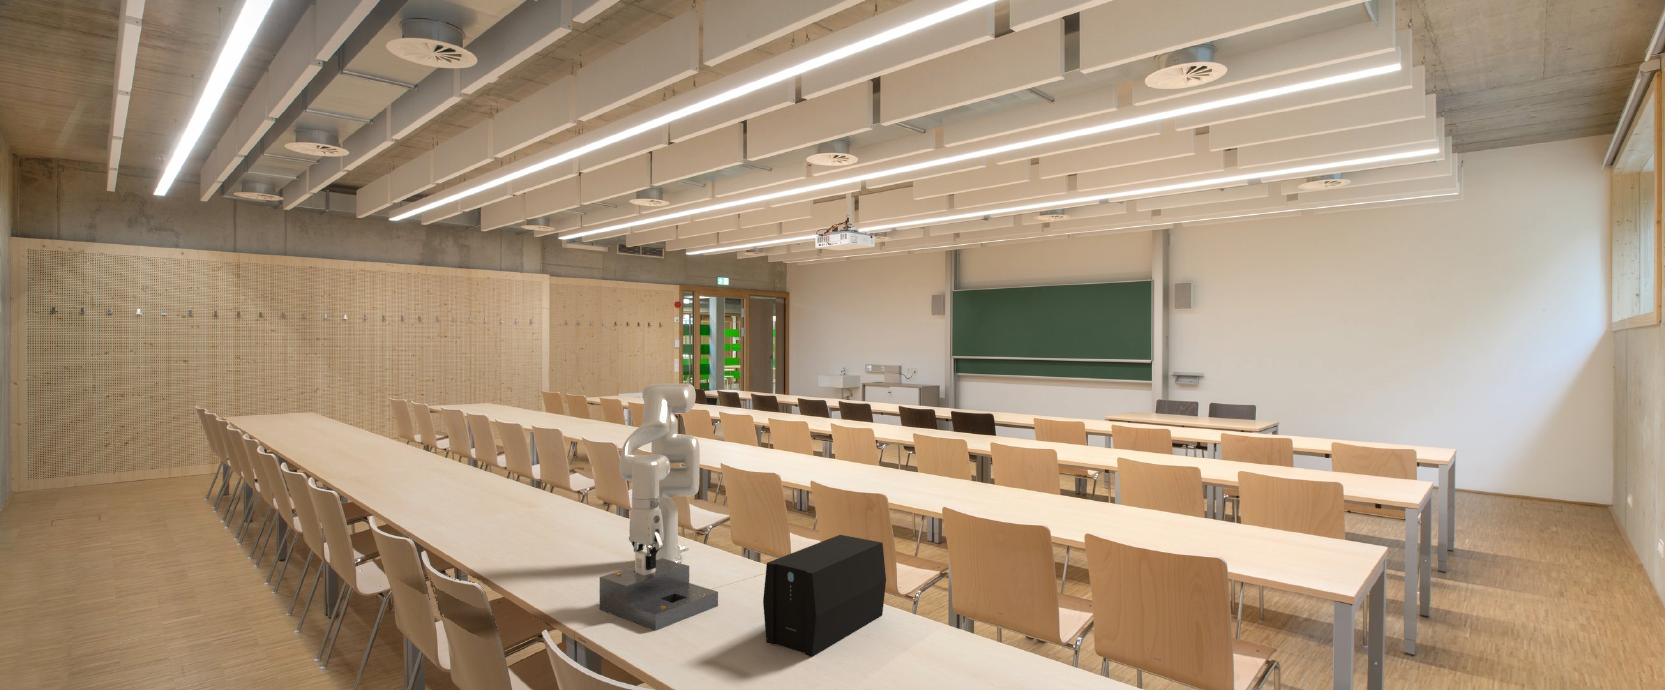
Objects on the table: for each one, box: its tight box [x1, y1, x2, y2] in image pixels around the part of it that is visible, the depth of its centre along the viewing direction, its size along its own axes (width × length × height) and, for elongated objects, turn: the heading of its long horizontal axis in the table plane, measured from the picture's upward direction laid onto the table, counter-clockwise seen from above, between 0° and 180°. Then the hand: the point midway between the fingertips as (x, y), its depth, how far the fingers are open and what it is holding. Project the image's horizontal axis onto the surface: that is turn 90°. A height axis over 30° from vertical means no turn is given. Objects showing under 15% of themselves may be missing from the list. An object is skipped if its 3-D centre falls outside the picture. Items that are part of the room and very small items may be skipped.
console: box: [599, 558, 719, 631], centre depth 204 cm, size 22×24×9 cm
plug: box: [634, 548, 656, 575], centre depth 208 cm, size 4×4×8 cm
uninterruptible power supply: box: [762, 534, 887, 658], centre depth 191 cm, size 16×34×20 cm, turn 145°
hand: (645, 566), depth 208 cm, fingers closed on plug, 3 cm apart
